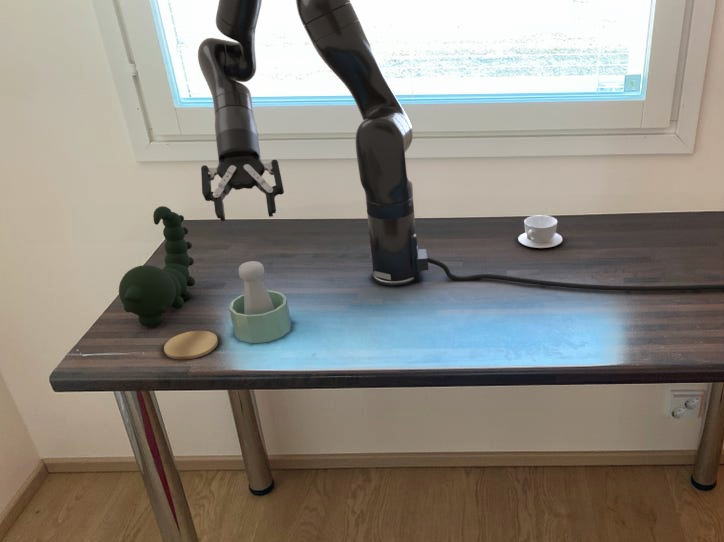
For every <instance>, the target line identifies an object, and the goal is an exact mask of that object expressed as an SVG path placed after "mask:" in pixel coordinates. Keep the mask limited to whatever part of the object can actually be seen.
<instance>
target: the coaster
mask: <svg viewBox="0 0 724 542" xmlns="http://www.w3.org/2000/svg"><path fill="white" fill-rule="evenodd" d="M218 343H219V340H218V336H217V335H216V334H215V333H213V332H212V331H208V330H190V331H185V332H182V333H179V334H177V335H175V336H173V337H171V338H170V339H168V341H166V342H165V344H164V346H163V351H164V354H165V356H167V357H169V358H170V359H173V360H182V361H183V360H192V359H196V358H200V357H203V356H205V355H208V354H209V353H211V352H212V351H214V350H215V349H216V348H217V346H218Z"/></svg>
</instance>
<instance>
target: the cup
mask: <svg viewBox="0 0 724 542" xmlns="http://www.w3.org/2000/svg"><path fill="white" fill-rule="evenodd" d="M267 291H268V294H269V296H270V298H271V301H272V303H273V305H274V308H275V310H273V311H270V312H267V313H263V314H255V315H245V311H244V293H243V294H240V295H239V296H237V297H236V298H234V299H233V300H231V301H230V303H229V307H228V310H229V315H230V319H231V323H232V327H233V333H234V336H235V337H237V339H238V340H239V341H240V342H245V343H249V344H264V343H269V342H273V341H275V340H278V339H281V338H283V337H284V336H285V335H287V334H288V333H289V332H290V331H291V327H292V320H291V314H290V309H289V303H288V297H287V296H286V295H284V294H283V293H282V292H281V291H276V290H270V289H267Z"/></svg>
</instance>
